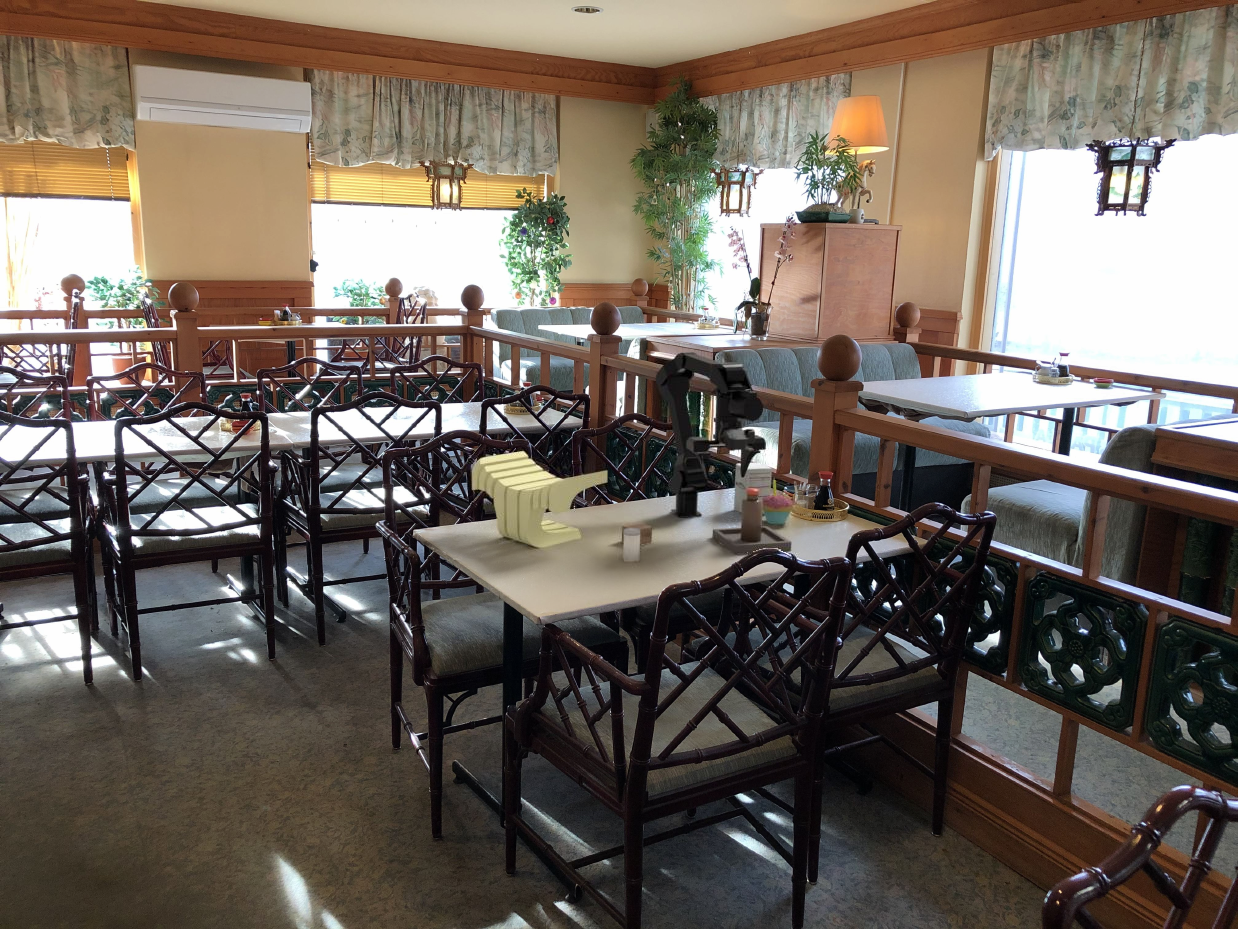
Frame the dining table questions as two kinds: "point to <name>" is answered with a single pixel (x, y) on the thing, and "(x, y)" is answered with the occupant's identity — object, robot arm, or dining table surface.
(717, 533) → the tray
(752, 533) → the soy bottle
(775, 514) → the cupcake
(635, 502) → the dining table surface
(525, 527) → the slatted curved stool
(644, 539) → the walnut block
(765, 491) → the supplement box
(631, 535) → the salt shaker
